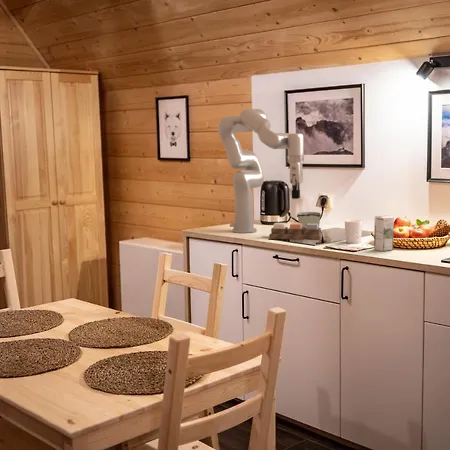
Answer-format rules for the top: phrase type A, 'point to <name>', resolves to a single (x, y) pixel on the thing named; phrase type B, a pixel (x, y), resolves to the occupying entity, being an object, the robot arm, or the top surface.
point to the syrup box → (383, 233)
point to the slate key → (312, 226)
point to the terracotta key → (296, 226)
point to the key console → (296, 234)
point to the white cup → (353, 231)
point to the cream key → (279, 225)
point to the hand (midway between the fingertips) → (295, 197)
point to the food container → (308, 218)
